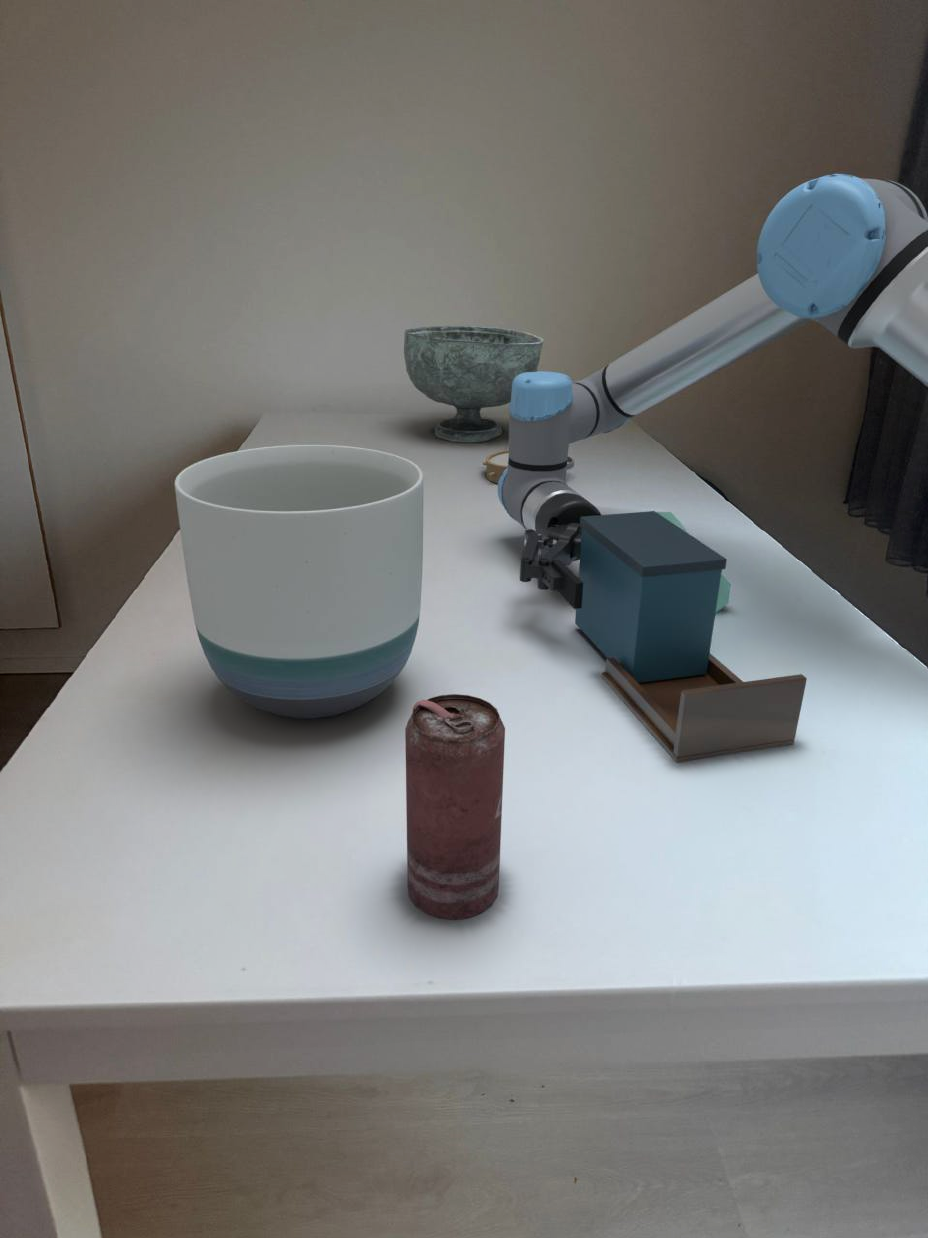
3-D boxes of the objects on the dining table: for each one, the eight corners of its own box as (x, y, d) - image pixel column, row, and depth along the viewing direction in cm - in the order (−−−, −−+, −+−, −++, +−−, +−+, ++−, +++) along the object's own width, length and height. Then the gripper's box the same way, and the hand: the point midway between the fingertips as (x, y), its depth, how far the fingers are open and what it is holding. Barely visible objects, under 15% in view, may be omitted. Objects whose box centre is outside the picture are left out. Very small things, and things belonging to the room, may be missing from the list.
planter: (177, 675, 88) (149, 459, 79) (370, 633, 97) (364, 435, 88) (239, 783, 72) (213, 528, 63) (462, 721, 81) (467, 490, 72)
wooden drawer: (600, 681, 88) (606, 616, 85) (702, 667, 91) (712, 604, 88) (675, 768, 75) (685, 694, 72) (793, 749, 78) (807, 678, 75)
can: (430, 852, 65) (430, 680, 59) (512, 880, 62) (520, 703, 56) (387, 905, 60) (383, 724, 54) (474, 938, 57) (479, 751, 51)
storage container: (572, 622, 98) (580, 516, 93) (643, 614, 100) (654, 510, 95) (630, 685, 85) (642, 567, 80) (709, 675, 87) (726, 558, 82)
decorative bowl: (374, 428, 181) (376, 324, 172) (467, 413, 197) (473, 318, 189) (463, 460, 164) (470, 346, 155) (557, 441, 180) (568, 337, 172)
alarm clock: (479, 452, 156) (564, 435, 156) (484, 479, 158) (568, 463, 158) (488, 469, 146) (579, 452, 146) (493, 498, 148) (582, 481, 148)
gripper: (654, 543, 113) (747, 611, 95) (462, 560, 107) (522, 636, 88) (660, 485, 110) (758, 543, 92) (463, 499, 104) (525, 565, 85)
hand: (642, 589), depth 90 cm, fingers open, 13 cm apart
